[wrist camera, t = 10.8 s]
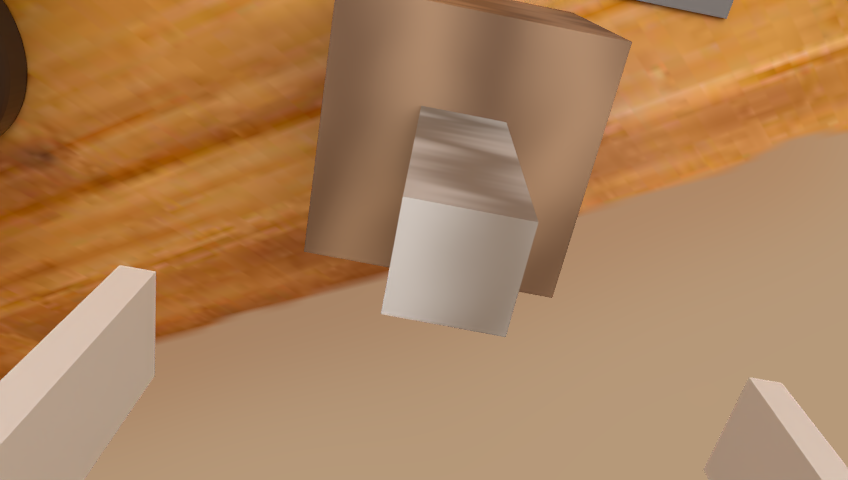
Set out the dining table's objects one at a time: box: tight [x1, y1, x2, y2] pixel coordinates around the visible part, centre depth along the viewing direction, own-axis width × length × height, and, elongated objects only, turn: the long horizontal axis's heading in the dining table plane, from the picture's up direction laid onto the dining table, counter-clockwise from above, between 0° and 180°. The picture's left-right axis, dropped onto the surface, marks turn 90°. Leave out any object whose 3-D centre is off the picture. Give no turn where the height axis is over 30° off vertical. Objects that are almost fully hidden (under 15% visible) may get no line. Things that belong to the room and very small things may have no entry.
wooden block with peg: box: [304, 0, 632, 337], centre depth 32 cm, size 13×13×27 cm
